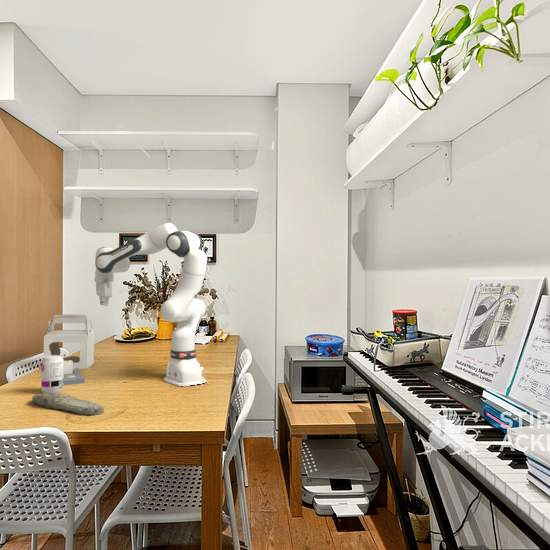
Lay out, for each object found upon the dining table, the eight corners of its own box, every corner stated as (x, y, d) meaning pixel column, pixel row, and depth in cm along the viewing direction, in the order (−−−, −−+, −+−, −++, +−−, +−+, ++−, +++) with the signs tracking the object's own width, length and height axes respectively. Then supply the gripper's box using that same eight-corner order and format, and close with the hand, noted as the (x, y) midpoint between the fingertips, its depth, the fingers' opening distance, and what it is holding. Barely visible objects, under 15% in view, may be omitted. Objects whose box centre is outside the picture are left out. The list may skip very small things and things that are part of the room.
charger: (72, 377, 206) (72, 361, 206) (63, 378, 204) (63, 362, 204) (71, 375, 210) (71, 360, 210) (62, 376, 207) (62, 360, 207)
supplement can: (39, 395, 176) (39, 359, 176) (44, 389, 184) (44, 355, 184) (60, 393, 178) (61, 358, 178) (64, 388, 186) (65, 354, 186)
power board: (84, 382, 196) (84, 377, 196) (60, 385, 191) (60, 380, 191) (76, 372, 215) (76, 368, 215) (54, 375, 209) (54, 370, 209)
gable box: (42, 369, 221) (43, 315, 221) (52, 364, 234) (52, 313, 234) (87, 368, 224) (88, 315, 224) (94, 363, 237) (95, 313, 237)
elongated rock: (89, 423, 149) (110, 416, 159) (90, 408, 150) (112, 401, 159) (23, 403, 164) (46, 398, 173) (24, 390, 164) (47, 385, 173)
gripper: (115, 279, 211) (115, 306, 212) (106, 278, 229) (106, 303, 229) (101, 279, 208) (101, 307, 208) (94, 278, 225) (93, 304, 225)
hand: (103, 305), depth 218 cm, fingers open, 8 cm apart
